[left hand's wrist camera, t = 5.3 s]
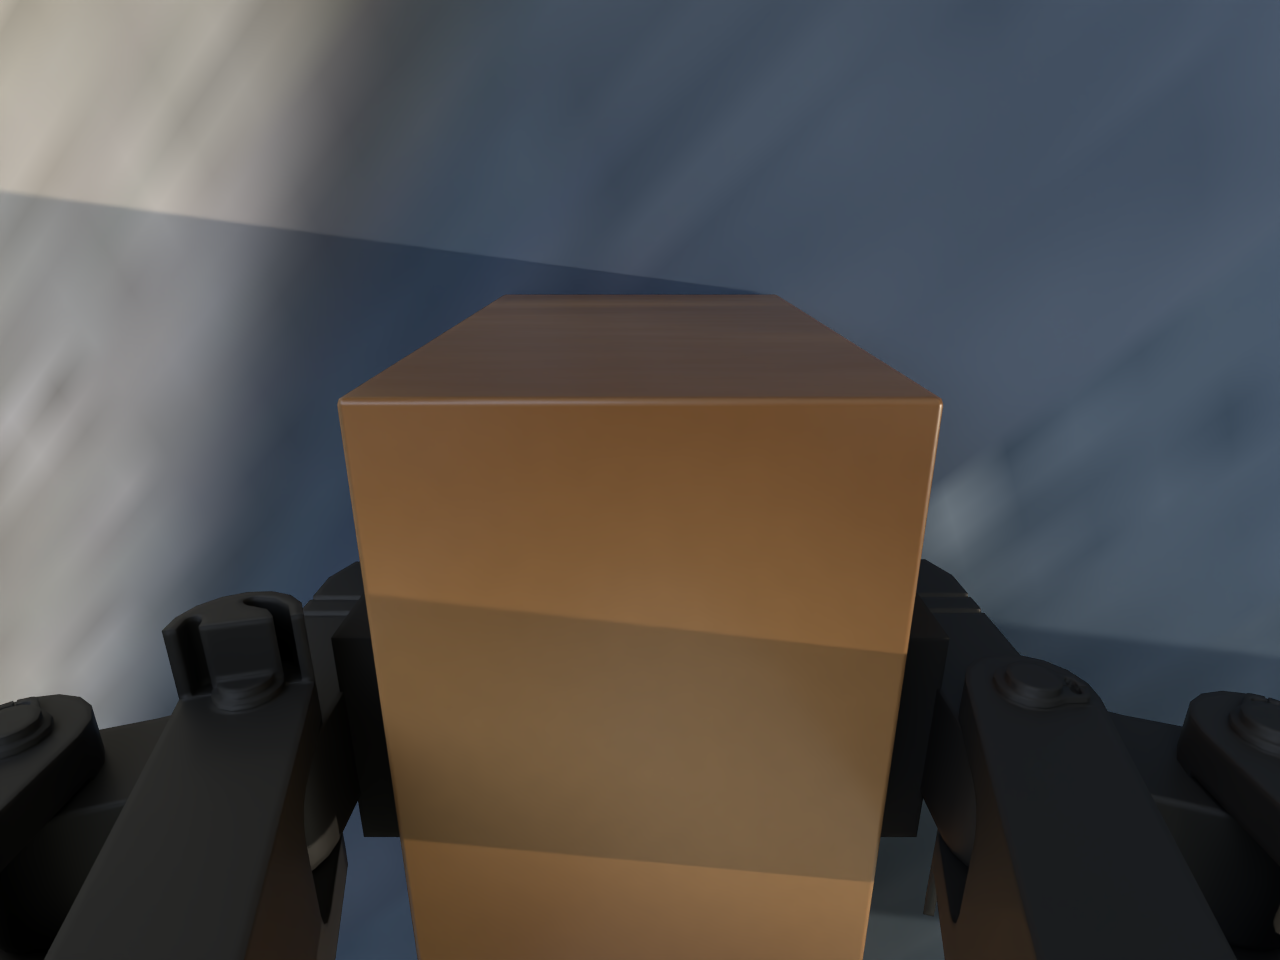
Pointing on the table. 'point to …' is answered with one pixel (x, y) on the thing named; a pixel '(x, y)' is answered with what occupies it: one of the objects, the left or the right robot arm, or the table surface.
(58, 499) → the table surface
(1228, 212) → the table surface
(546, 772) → the bar
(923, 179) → the table surface
